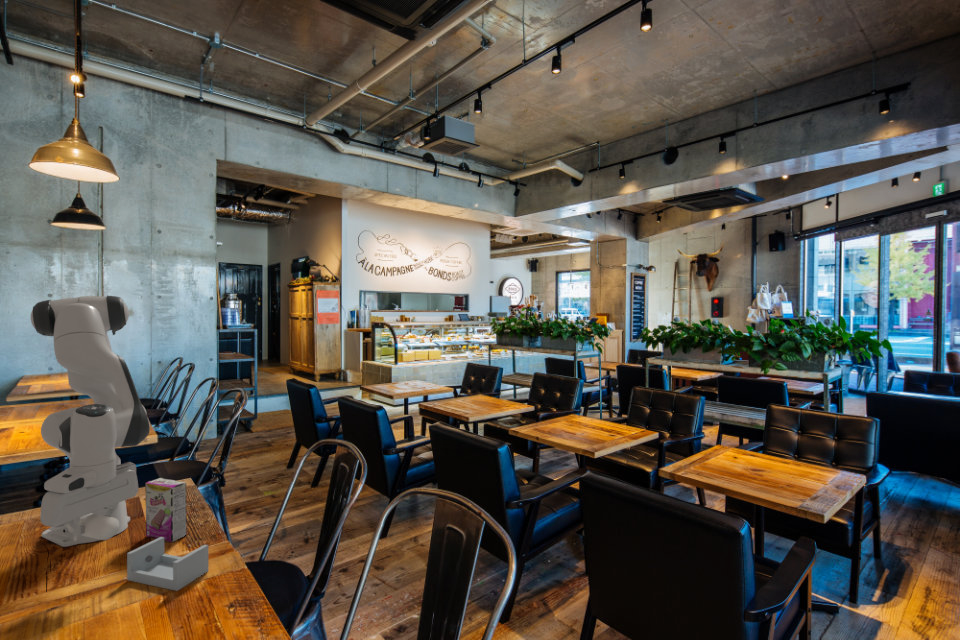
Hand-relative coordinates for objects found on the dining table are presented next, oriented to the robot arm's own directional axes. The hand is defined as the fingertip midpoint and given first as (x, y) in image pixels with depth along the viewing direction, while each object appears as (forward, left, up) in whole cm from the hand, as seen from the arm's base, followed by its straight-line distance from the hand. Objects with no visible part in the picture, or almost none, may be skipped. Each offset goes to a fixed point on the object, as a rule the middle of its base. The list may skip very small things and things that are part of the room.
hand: (93, 528), depth 115 cm
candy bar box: (-7, +25, -14) cm, 29 cm away
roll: (0, 0, -2) cm, 2 cm away
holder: (+13, +9, -14) cm, 21 cm away
